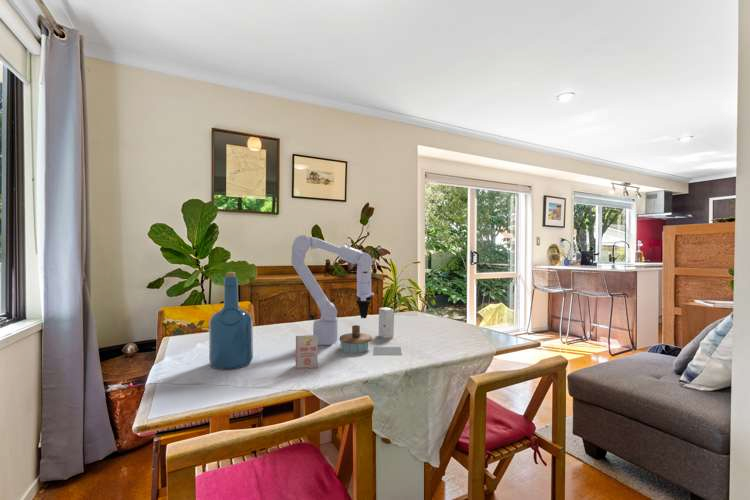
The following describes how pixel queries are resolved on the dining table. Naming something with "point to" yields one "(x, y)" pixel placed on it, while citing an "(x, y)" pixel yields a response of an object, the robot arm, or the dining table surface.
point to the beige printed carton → (306, 352)
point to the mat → (387, 351)
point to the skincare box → (386, 322)
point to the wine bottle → (230, 331)
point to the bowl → (354, 347)
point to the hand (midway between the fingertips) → (364, 316)
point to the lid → (355, 336)
